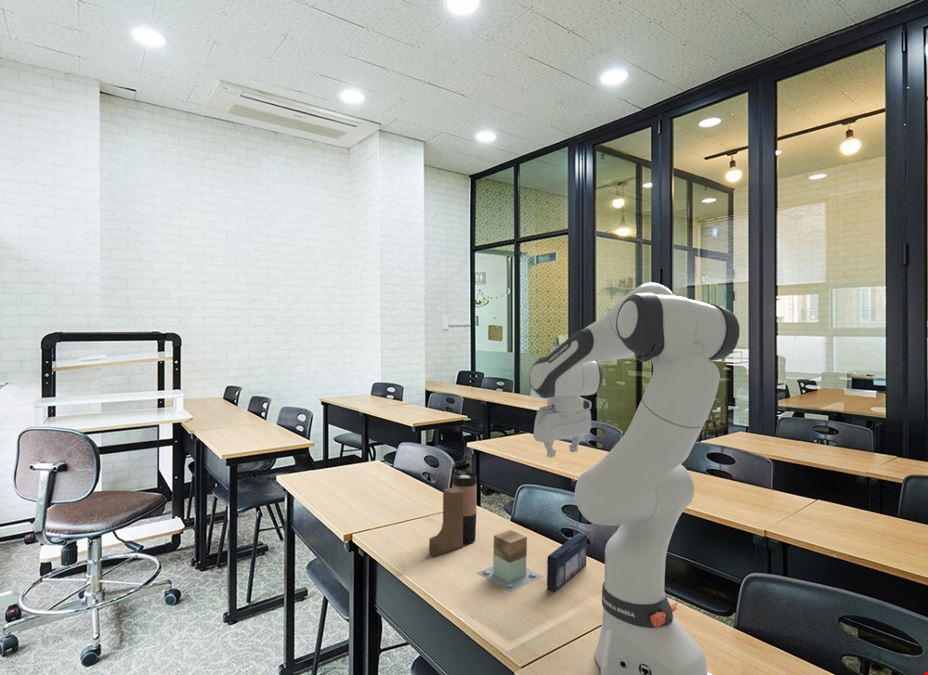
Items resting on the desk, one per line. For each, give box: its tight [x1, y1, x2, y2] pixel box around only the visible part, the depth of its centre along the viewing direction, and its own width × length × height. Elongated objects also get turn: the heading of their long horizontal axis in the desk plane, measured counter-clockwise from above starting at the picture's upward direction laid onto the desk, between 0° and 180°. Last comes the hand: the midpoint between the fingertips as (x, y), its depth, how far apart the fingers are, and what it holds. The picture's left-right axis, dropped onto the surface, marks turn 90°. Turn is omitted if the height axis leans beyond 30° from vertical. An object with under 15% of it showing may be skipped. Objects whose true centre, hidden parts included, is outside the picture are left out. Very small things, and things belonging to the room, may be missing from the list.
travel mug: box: [451, 471, 478, 545], centre depth 155 cm, size 8×8×20 cm
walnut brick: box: [493, 529, 528, 563], centre depth 130 cm, size 6×6×5 cm
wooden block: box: [428, 487, 464, 558], centre depth 145 cm, size 9×4×18 cm, turn 124°
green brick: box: [492, 554, 527, 583], centre depth 130 cm, size 6×6×5 cm
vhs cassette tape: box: [546, 532, 588, 593], centre depth 129 cm, size 18×3×10 cm, turn 141°
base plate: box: [477, 566, 544, 592], centre depth 130 cm, size 12×12×2 cm
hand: (562, 454), depth 137 cm, fingers open, 8 cm apart
